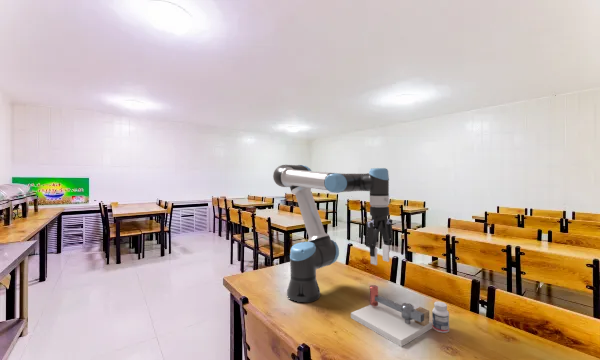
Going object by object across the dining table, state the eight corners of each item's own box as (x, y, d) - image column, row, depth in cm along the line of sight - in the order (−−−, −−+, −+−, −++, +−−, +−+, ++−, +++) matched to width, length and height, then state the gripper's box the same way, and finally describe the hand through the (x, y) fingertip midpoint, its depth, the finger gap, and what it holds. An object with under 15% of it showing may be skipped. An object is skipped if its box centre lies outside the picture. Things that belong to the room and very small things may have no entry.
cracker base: (350, 317, 104) (350, 308, 104) (381, 304, 114) (381, 295, 114) (401, 346, 86) (401, 334, 86) (432, 328, 96) (432, 317, 96)
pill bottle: (434, 323, 99) (434, 299, 99) (450, 328, 96) (450, 303, 96) (430, 329, 95) (430, 304, 95) (447, 335, 92) (447, 308, 92)
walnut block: (414, 322, 97) (414, 309, 97) (420, 319, 99) (419, 306, 99) (423, 326, 94) (423, 313, 94) (429, 323, 96) (429, 310, 96)
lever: (367, 304, 109) (367, 286, 109) (374, 301, 111) (374, 284, 111) (419, 328, 90) (418, 307, 90) (425, 324, 93) (425, 304, 93)
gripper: (370, 208, 102) (371, 269, 102) (402, 205, 113) (402, 260, 113) (355, 207, 108) (356, 264, 108) (387, 203, 119) (387, 256, 119)
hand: (380, 262), depth 111 cm, fingers open, 7 cm apart
